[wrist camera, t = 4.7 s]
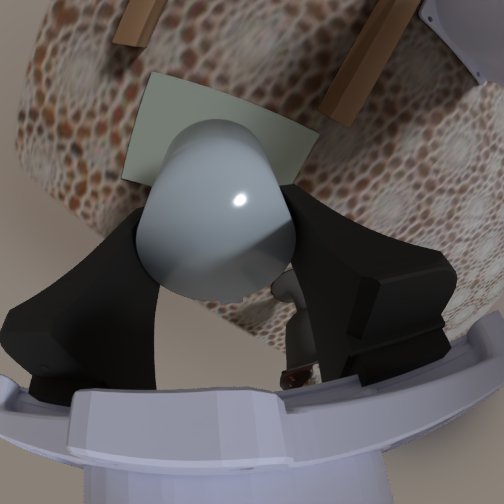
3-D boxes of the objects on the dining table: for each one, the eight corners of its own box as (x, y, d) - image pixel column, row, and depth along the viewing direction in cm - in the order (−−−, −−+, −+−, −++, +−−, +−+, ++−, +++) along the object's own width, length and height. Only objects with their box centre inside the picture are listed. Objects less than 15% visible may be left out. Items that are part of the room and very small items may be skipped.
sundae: (332, 292, 29) (377, 423, 18) (275, 313, 30) (301, 446, 19) (321, 251, 25) (380, 408, 14) (253, 276, 26) (278, 438, 15)
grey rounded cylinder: (270, 231, 16) (292, 318, 12) (184, 243, 16) (177, 333, 11) (262, 112, 11) (297, 166, 7) (153, 129, 11) (113, 196, 7)
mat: (319, 133, 18) (320, 134, 18) (270, 220, 22) (270, 222, 22) (152, 71, 14) (151, 71, 14) (122, 176, 18) (121, 178, 18)
